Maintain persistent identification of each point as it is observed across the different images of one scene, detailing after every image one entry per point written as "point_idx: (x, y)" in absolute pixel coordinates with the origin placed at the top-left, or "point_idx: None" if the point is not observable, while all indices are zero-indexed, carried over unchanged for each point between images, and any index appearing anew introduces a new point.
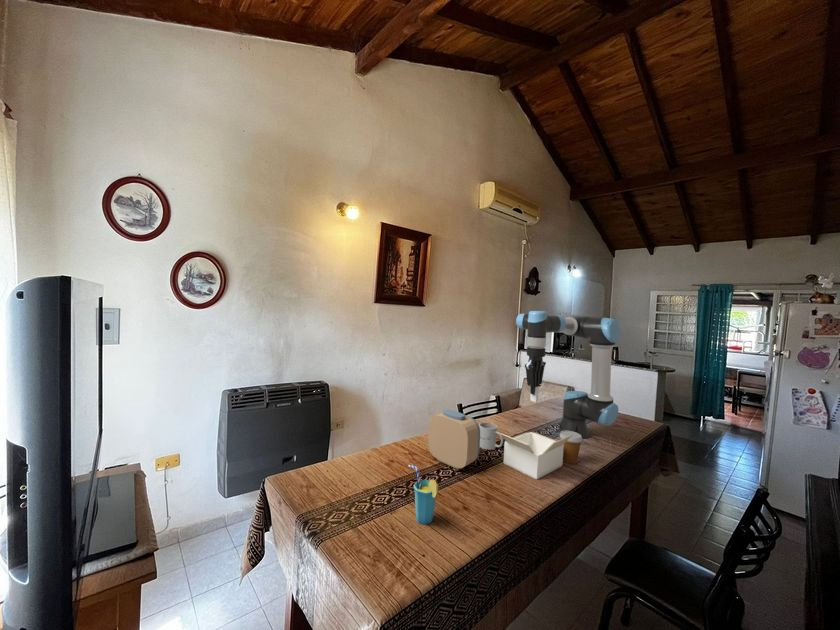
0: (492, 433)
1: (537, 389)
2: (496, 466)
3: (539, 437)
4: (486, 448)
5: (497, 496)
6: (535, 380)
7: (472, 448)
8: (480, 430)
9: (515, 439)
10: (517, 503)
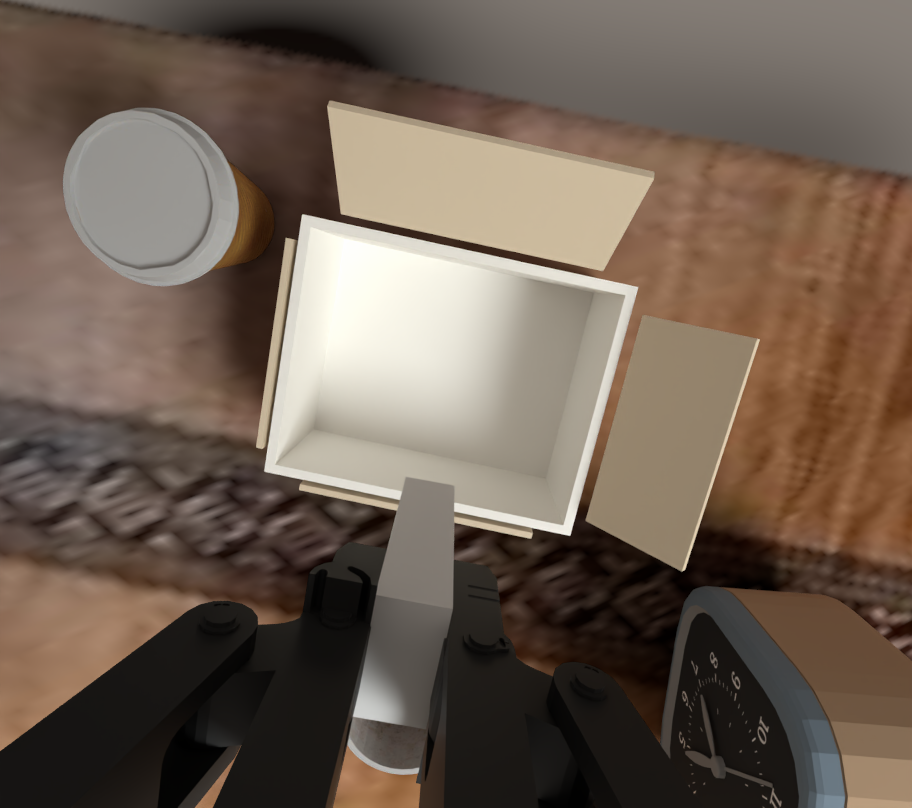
0: None
1: (410, 570)
2: None
3: (288, 398)
4: None
5: (882, 370)
6: (498, 752)
7: (823, 629)
8: None
9: (723, 447)
10: (882, 276)
